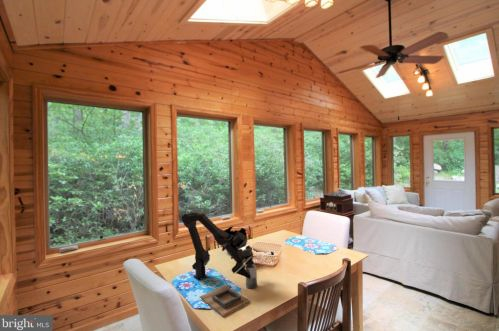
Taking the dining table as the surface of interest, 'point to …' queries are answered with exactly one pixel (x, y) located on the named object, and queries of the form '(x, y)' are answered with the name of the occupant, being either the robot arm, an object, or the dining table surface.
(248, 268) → the steel hub
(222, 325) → the dining table surface
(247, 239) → the coal bowl
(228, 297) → the walnut board
